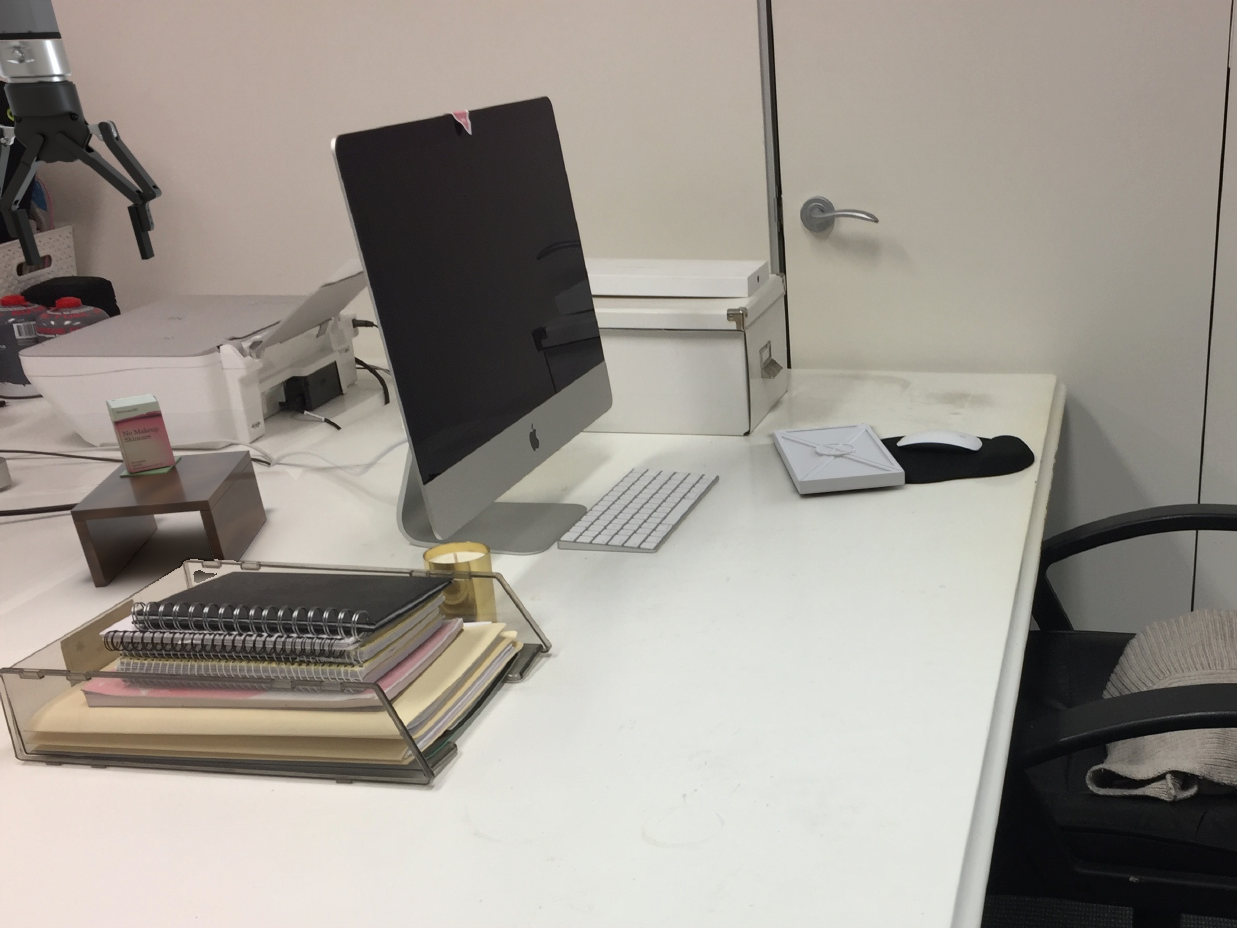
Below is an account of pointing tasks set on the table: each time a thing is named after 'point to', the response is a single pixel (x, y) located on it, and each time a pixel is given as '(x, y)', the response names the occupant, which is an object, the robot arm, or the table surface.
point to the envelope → (837, 458)
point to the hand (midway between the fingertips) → (91, 261)
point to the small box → (140, 432)
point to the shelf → (169, 508)
